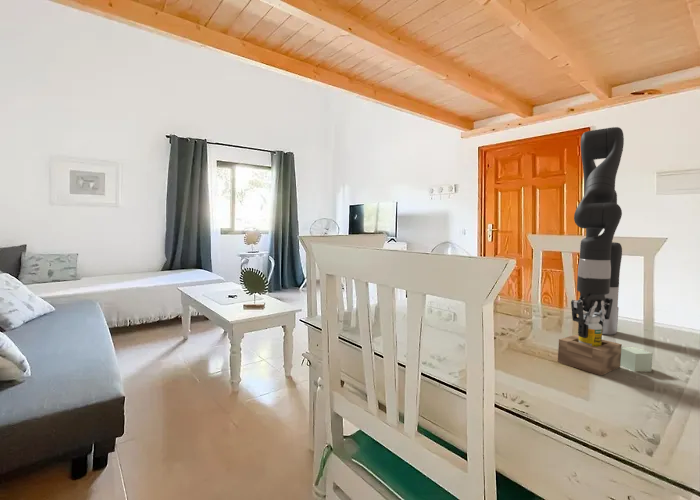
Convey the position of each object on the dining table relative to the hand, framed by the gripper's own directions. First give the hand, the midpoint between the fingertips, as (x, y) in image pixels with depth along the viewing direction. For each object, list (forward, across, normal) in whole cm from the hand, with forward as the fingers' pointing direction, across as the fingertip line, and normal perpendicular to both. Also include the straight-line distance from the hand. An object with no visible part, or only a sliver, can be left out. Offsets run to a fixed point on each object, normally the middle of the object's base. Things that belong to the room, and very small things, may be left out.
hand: (590, 335), depth 100 cm
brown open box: (+8, 0, 0) cm, 8 cm away
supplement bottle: (+4, 0, 0) cm, 4 cm away
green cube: (+8, -10, +6) cm, 14 cm away
